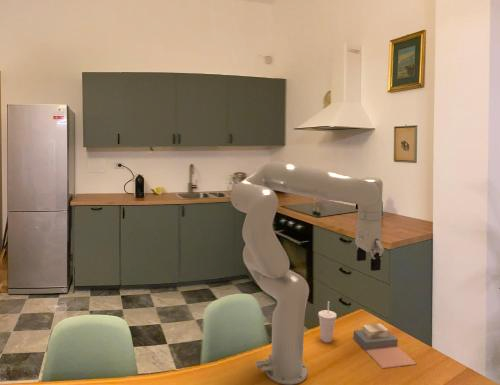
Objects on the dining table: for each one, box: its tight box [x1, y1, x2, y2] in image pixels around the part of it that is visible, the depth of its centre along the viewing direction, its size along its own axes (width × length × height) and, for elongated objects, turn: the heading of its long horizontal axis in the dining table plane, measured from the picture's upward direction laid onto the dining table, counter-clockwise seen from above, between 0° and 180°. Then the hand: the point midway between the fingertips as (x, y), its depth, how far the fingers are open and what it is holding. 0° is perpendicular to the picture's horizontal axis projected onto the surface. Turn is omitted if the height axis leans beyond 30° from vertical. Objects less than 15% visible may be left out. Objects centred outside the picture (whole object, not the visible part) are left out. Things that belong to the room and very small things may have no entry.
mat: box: [364, 345, 417, 370], centre depth 128 cm, size 12×10×1 cm
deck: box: [352, 329, 399, 351], centre depth 137 cm, size 12×8×3 cm
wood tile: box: [361, 323, 389, 339], centre depth 137 cm, size 7×5×2 cm
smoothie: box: [317, 301, 338, 343], centre depth 138 cm, size 6×6×14 cm
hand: (368, 265), depth 132 cm, fingers open, 9 cm apart
